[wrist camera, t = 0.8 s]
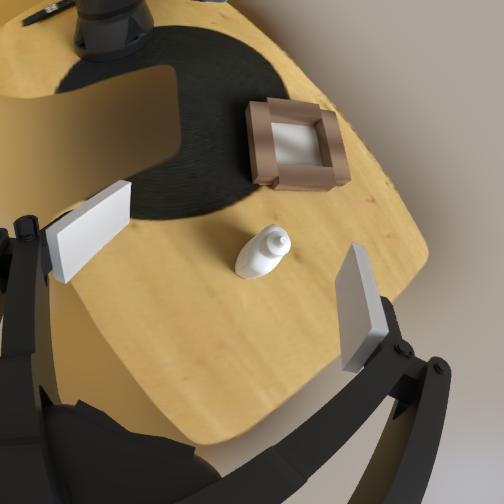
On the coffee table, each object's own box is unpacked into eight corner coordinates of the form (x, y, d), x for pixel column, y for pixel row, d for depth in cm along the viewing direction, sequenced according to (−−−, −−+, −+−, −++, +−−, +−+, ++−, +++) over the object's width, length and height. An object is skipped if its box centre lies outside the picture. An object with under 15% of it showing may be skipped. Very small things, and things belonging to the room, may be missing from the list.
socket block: (243, 108, 41) (248, 95, 38) (325, 117, 45) (333, 106, 42) (252, 191, 40) (258, 182, 36) (341, 193, 43) (352, 186, 40)
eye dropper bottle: (224, 253, 37) (245, 232, 26) (261, 233, 39) (296, 206, 27) (241, 284, 37) (270, 276, 26) (277, 262, 39) (319, 246, 27)
